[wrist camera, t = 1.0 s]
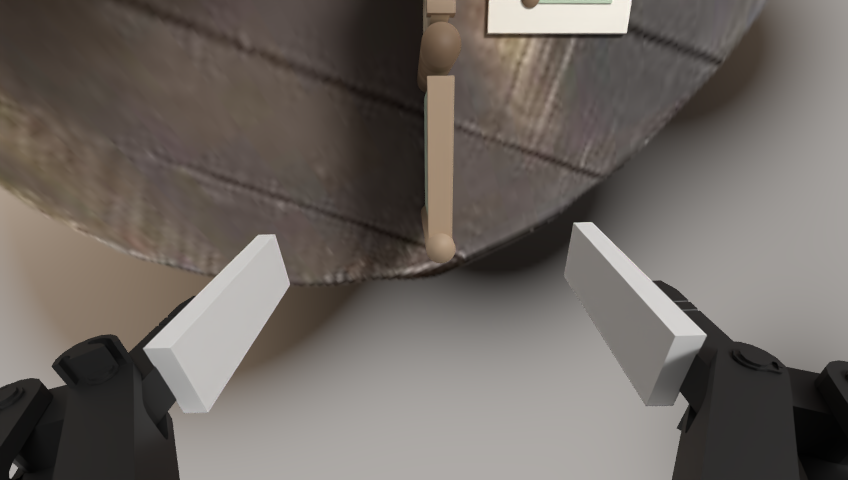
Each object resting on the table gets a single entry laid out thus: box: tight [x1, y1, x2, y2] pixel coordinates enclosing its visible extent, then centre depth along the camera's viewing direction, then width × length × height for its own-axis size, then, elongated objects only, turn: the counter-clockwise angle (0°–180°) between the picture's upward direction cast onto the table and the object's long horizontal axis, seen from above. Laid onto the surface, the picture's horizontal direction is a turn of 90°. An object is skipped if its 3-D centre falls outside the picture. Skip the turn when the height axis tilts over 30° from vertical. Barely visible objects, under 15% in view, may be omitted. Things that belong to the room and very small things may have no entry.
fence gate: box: [421, 76, 455, 263], centre depth 29 cm, size 13×2×13 cm, turn 1°
